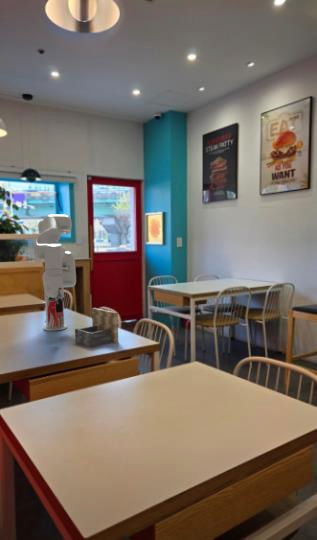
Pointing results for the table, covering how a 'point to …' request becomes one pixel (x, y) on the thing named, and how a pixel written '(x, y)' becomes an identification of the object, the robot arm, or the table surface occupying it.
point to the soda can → (54, 315)
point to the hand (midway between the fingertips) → (55, 310)
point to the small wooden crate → (99, 329)
